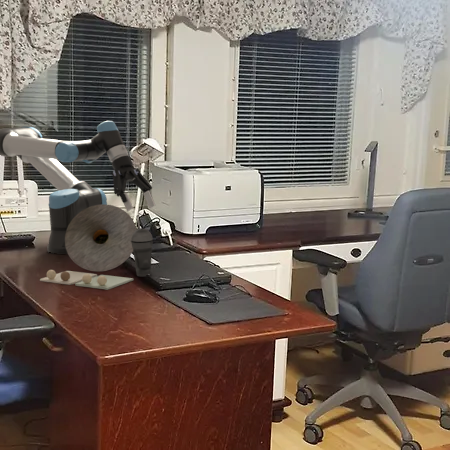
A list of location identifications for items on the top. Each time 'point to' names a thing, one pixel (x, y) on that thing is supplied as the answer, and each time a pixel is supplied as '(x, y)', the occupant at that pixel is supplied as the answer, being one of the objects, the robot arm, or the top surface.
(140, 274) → the beverage cup
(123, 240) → the disc
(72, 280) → the cream card
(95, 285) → the sage card
